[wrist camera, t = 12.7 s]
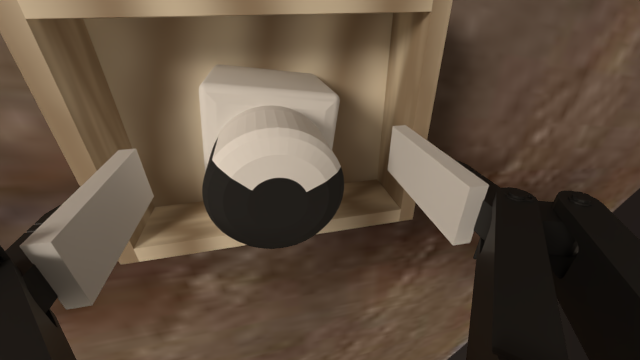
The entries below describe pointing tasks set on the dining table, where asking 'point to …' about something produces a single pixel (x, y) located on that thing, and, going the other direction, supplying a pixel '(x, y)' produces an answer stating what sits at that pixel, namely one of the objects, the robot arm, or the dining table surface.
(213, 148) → the medicine bottle
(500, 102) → the dining table surface
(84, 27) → the birch box
